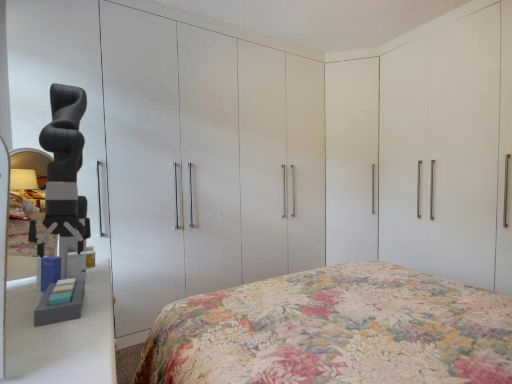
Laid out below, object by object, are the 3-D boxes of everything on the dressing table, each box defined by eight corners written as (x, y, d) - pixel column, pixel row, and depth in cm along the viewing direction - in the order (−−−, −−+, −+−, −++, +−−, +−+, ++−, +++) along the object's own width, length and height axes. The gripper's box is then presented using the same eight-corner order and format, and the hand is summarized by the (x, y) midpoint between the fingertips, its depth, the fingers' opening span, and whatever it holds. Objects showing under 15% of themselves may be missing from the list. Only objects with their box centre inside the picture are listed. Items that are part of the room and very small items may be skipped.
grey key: (57, 290, 89) (58, 280, 89) (75, 288, 92) (75, 278, 92) (55, 295, 85) (56, 284, 85) (74, 292, 88) (74, 282, 88)
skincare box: (65, 288, 97) (66, 254, 97) (66, 284, 101) (66, 252, 101) (86, 285, 101) (86, 252, 101) (85, 282, 104) (86, 250, 104)
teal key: (51, 306, 77) (51, 294, 77) (71, 303, 80) (71, 291, 80) (48, 312, 73) (48, 299, 73) (69, 309, 75) (70, 296, 76)
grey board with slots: (49, 295, 90) (49, 283, 90) (84, 290, 95) (84, 279, 95) (34, 326, 70) (34, 311, 70) (80, 318, 75) (80, 303, 75)
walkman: (61, 290, 95) (61, 256, 95) (53, 292, 93) (53, 258, 93) (44, 287, 97) (44, 254, 98) (36, 290, 95) (36, 256, 95)
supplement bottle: (78, 268, 122) (78, 247, 123) (87, 265, 128) (87, 244, 128) (89, 269, 122) (89, 247, 122) (97, 265, 127) (98, 245, 127)
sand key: (54, 298, 83) (54, 286, 83) (73, 295, 86) (73, 284, 86) (52, 303, 79) (52, 291, 79) (72, 300, 82) (72, 288, 82)
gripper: (91, 198, 84) (90, 250, 83) (32, 198, 77) (31, 255, 76) (90, 198, 77) (90, 255, 77) (26, 198, 70) (25, 261, 70)
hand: (61, 255), depth 77 cm, fingers open, 8 cm apart
